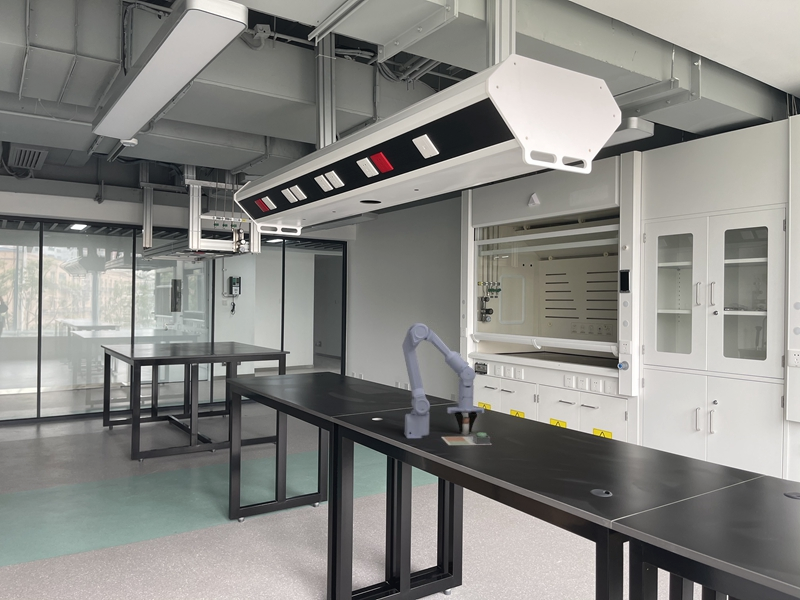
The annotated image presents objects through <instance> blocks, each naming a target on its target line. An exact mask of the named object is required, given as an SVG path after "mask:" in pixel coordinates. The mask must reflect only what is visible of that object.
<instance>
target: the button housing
mask: <svg viewBox="0 0 800 600" xmlns="http://www.w3.org/2000/svg"><path fill="white" fill-rule="evenodd" d="M472 437H473V441H474V442H475V443H476V444H490V443H491V437H490V436H489V435H488V434H486V437H477V434H473V435H472Z"/></svg>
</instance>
